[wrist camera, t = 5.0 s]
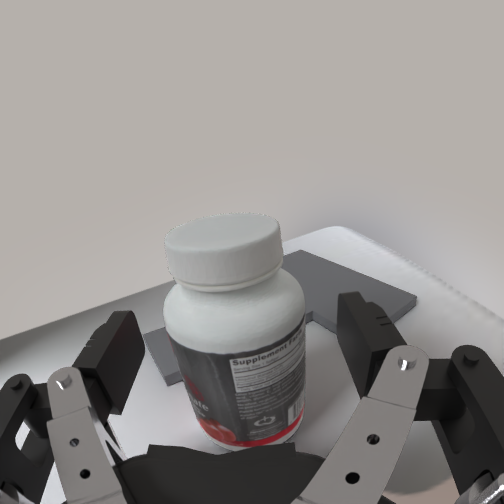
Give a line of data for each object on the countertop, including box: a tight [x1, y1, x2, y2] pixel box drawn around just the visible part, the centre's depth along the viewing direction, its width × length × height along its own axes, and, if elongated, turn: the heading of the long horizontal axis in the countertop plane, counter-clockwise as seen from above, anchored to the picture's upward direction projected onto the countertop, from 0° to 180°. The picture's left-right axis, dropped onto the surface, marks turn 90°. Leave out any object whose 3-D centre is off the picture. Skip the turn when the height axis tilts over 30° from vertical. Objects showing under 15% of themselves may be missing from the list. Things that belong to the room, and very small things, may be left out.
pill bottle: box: [163, 213, 305, 451], centre depth 12 cm, size 5×5×10 cm
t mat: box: [143, 250, 417, 386], centre depth 22 cm, size 18×14×1 cm
